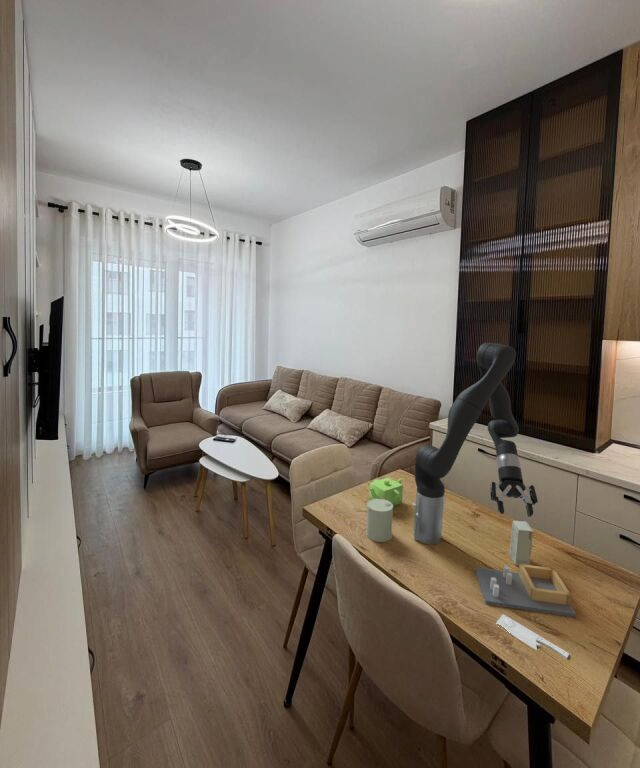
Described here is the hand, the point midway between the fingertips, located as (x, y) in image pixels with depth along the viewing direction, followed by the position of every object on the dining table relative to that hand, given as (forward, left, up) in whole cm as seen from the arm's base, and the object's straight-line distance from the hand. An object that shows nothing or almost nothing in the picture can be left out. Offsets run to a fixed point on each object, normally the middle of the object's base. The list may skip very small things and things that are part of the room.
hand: (516, 514), depth 123 cm
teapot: (-43, +21, -12) cm, 50 cm away
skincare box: (0, -7, -12) cm, 14 cm away
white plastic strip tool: (-7, -39, -13) cm, 41 cm away
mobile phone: (-25, +27, -13) cm, 39 cm away
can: (-45, -2, -12) cm, 47 cm away
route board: (-4, -22, -12) cm, 25 cm away
